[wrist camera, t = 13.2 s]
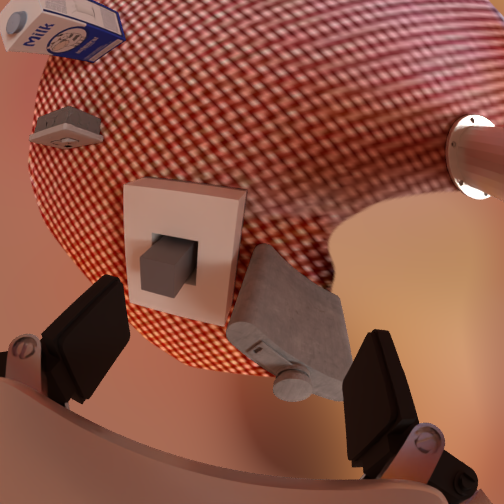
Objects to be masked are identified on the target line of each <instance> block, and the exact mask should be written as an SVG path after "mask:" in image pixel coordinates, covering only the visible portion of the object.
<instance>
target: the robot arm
mask: <svg viewBox="0 0 504 504" xmlns="http://www.w3.org/2000/svg"><path fill="white" fill-rule="evenodd" d="M451 143H452V145H451ZM445 153H446V163H447V168H448V171H449V174H450V177H451V179H452V181H453V183H454V184H455V186H456V187H457V188H458V189H459V190H460V191H461V192H462V193H463V194H465V195H467V196H468V197H471V198H473V199H486V198H488V197H490V196H493V197H495V198H497V199H499V200H501V201H504V127H495V126H494V125H493V123H492V122H491V121H489V120H488V119H487V118H485V117H483V116H480V115H475V114H473V115H465V116H463V117H461V118H459V119H458V120H457V121H456V122H455V123H454V124H453V126H452V127H451V129H450V131H449V134H448V137H447V142H446V152H445ZM41 335H42V337H43V338H42V339H41V340H39V339H38V338H37V337H36V336H35V335H32V334H23V335H20V336H18V337H16V338H15V339H14V340H13V341H12V342H11V343H10V345H9V348H8V351H6V352H0V504H492V503H491V502H490V500H489V499H488V497H487V496H486V495H485V493H484V492H483V491H482V490H481V489H479V490H477V486H478V478H477V475H476V473H475V472H474V470H472V469H471V468H470V467H468V466H467V465H466V464H464V463H463V462H461V461H459V460H458V459H457V458H455V457H454V456H452V455H451V454H450V453H448V452H447V451H445V450H444V446H445V438H444V435H443V433H442V432H441V430H440V429H439V428H438V427H436V426H435V425H433V424H431V423H420V424H419V421H418V417H417V413H416V410H415V406H414V403H413V399H412V396H411V393H410V389H409V386H408V383H407V380H406V376H405V373H404V371H403V369H402V366H401V363H400V360H399V357H398V354H397V352H396V349H395V346H394V343H393V340H392V338H391V335H390V333H389V331H386V330H377V329H374V330H373V331H372V332H371V333H370V332H369V333H368V334H367V335H366V337H365V339H364V341H363V343H362V345H361V347H360V349H359V351H358V353H357V355H356V357H355V359H354V361H353V363H352V365H351V367H350V368H349V370H348V372H347V374H346V376H345V378H344V380H343V383H342V392H343V401H344V413H345V424H346V439H347V455H348V460H352V467H363V472H364V475H363V476H362V477H361V478H360V479H359V480H321V479H301V478H288V477H277V476H269V475H262V474H255V473H248V472H242V471H237V470H232V469H227V468H222V467H217V466H213V465H209V464H205V463H201V462H197V461H193V460H190V459H186V458H183V457H179V456H176V455H173V454H170V453H166V452H163V451H161V450H158V449H155V448H152V447H149V446H147V445H144V444H141V443H139V442H136V441H133V440H131V439H129V438H126V437H124V436H121V435H119V434H116V433H114V432H112V431H110V430H108V429H105V428H104V427H101V426H99V425H97V424H95V423H93V422H91V421H89V420H87V419H85V418H84V417H82V416H80V415H78V414H76V413H74V412H72V411H70V410H69V403H68V401H69V400H70V398H72V399H73V400H75V401H77V402H79V403H81V404H83V402H84V401H85V399H89V398H90V397H91V396H92V394H93V393H94V391H95V390H96V388H97V387H98V385H99V384H100V382H101V381H102V379H103V378H104V376H105V375H106V373H107V372H108V370H109V369H110V367H111V366H112V365H113V363H114V362H115V360H116V358H117V357H118V356H119V354H120V353H121V351H122V350H123V349H124V347H125V346H126V344H127V343H128V341H129V339H130V330H129V324H128V318H127V311H126V304H125V296H124V288H123V284H122V283H121V282H120V279H119V278H118V277H114V276H111V275H107V274H106V275H104V276H102V277H101V278H100V279H99V280H98V281H97V282H96V283H94V284H93V285H92V286H91V287H90V288H89V289H88V290H87V291H86V292H85V293H83V294H82V295H81V296H80V297H79V298H78V299H77V300H76V301H75V302H74V303H73V304H72V305H70V306H69V307H68V308H67V309H66V310H65V311H64V312H63V313H62V314H61V315H60V316H59V317H58V318H57V319H56V320H55V321H54V322H53V323H52V324H51V325H50V326H49V327H48V328H47V329H46V330H45V331H44V332H43V333H42V334H41Z"/></svg>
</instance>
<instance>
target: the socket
mask: <svg viewBox="0 0 504 504" xmlns="http://www.w3.org/2000/svg"><path fill="white" fill-rule="evenodd" d="M247 191H248V190H245V189H239V188H232V187H226V186H219V185H212V184H205V183H197V182H190V181H182V180H173V179H165V178H156V177H143V178H140V179H137V180H135V181H132V182H129V183H127V184H124V190H123V205H124V240H125V257H126V270H127V281H128V290H129V299H130V303H133V304H137V305H140V306H144V307H147V308H151V309H154V310H158V311H162V312H166V313H169V314H173V315H177V316H181V317H185V318H189V319H193V320H197V321H201V322H206V323H210V324H214V325H219V326H223V327H224V325H225V323H226V320H227V317H228V314H229V312H230V309H231V306H232V303H233V296H234V288H235V280H236V272H237V264H238V257H239V249H240V242H241V234H242V227H243V220H244V212H245V205H246V198H247ZM164 235H167V236H173V237H178V238H183V239H189V240H194V241H198V257H197V266H196V268H195V269H194V271H193V272H192V273H191V275H190V276H189V278H188V279H187V281H186V282H185V284H184V285H183V286H182V288H181V289H180V291H179V292H178V294H177V295H176V297H175V298H170V297H166V296H163V295H159V294H155V293H152V292H148V291H145V290H141V278H140V256H141V255H142V254H144V253H145V252H146V251H147V250H148V249H149V248H150V247H152V246H153V245H154V244H155V243H156V242H157V241H158V240H160V239H161V238H162V237H163V236H164Z"/></svg>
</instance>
